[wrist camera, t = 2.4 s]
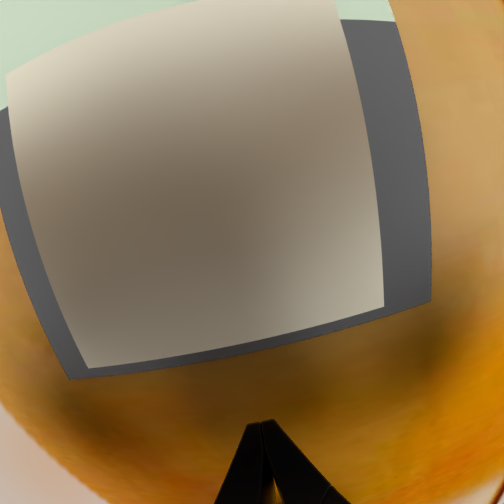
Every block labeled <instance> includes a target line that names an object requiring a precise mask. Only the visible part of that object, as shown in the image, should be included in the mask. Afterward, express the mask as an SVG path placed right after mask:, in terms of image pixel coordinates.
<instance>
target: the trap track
mask: <svg viewBox="0 0 504 504" xmlns="http://www.w3.org/2000/svg"><path fill="white" fill-rule="evenodd" d="M194 1H199V0H0V208H1V212H2V216H3V220H4V223H5V227H6V231H7V234H8V237H9V241H10V244H11V247H12V250H13V253H14V256H15V259H16V262H17V265H18V268H19V271H20V274H21V276H22V279H23V282H24V284H25V287H26V290H27V292H28V295H29V297H30V300H31V302H32V305H33V307H34V309H35V312H36V314H37V316H38V318H39V321H40V323H41V325H42V327H43V329H44V332H45V334H46V336H47V338H48V340H49V342H50V344H51V346H52V348H53V350H54V352H55V354H56V356H57V358H58V360H59V362H60V364H61V365H62V367H63V369H64V371H65V373H66V375H67V376H68V378H69V380H70V379H82V378H92V377H102V376H112V375H120V374H128V373H136V372H144V371H151V370H158V369H164V368H171V367H177V366H183V365H189V364H195V363H200V362H206V361H211V360H216V359H222V358H227V357H232V356H236V355H241V354H246V353H251V352H255V351H260V350H264V349H269V348H273V347H277V346H281V345H286V344H290V343H294V342H298V341H302V340H306V339H310V338H313V337H317V336H321V335H325V334H328V333H332V332H336V331H339V330H343V329H346V328H350V327H353V326H356V325H360V324H363V323H366V322H370V321H373V320H376V319H379V318H382V317H386V316H389V315H392V314H395V313H398V312H401V311H404V310H407V309H410V308H413V307H416V306H419V305H421V304H424V303H427V302H430V301H431V268H432V253H431V219H430V203H429V190H428V179H427V169H426V161H425V153H424V146H423V139H422V132H421V126H420V120H419V115H418V109H417V104H416V99H415V94H414V89H413V85H412V80H411V76H410V72H409V68H408V64H407V60H406V56H405V53H404V49H403V45H402V42H401V38H400V35H399V32H398V28H397V25H396V22H395V19H394V16H393V13H392V10H391V7H390V4H389V2H388V0H334V2H335V5H336V9H337V12H338V15H339V18H340V21H341V25H342V28H343V32H344V35H345V39H346V42H347V46H348V49H349V53H350V57H351V61H352V65H353V69H354V73H355V77H356V82H357V86H358V90H359V95H360V100H361V104H362V109H363V114H364V119H365V125H366V130H367V136H368V142H369V148H370V154H371V160H372V167H373V174H374V181H375V189H376V197H377V206H378V216H379V226H380V237H381V251H382V267H383V289H384V307H381V308H378V309H375V310H371V311H368V312H365V313H361V314H358V315H354V316H351V317H347V318H344V319H340V320H337V321H333V322H329V323H325V324H322V325H318V326H314V327H310V328H306V329H302V330H298V331H294V332H290V333H286V334H282V335H278V336H274V337H269V338H265V339H261V340H256V341H252V342H247V343H242V344H238V345H233V346H228V347H223V348H218V349H213V350H208V351H202V352H197V353H191V354H186V355H180V356H174V357H168V358H162V359H156V360H149V361H143V362H136V363H129V364H121V365H113V366H105V367H97V368H88V367H87V365H86V363H85V361H84V359H83V357H82V355H81V353H80V351H79V349H78V347H77V345H76V343H75V341H74V339H73V337H72V334H71V332H70V330H69V328H68V326H67V323H66V321H65V319H64V317H63V314H62V312H61V309H60V307H59V305H58V302H57V300H56V297H55V295H54V292H53V290H52V287H51V284H50V282H49V279H48V276H47V274H46V271H45V268H44V265H43V262H42V259H41V256H40V253H39V250H38V247H37V244H36V241H35V237H34V234H33V231H32V227H31V224H30V220H29V216H28V213H27V209H26V205H25V201H24V197H23V193H22V188H21V184H20V179H19V175H18V170H17V165H16V159H15V154H14V148H13V142H12V135H11V128H10V120H9V111H8V101H7V88H6V74H8V73H9V72H11V71H13V70H15V69H16V68H18V67H20V66H22V65H23V64H25V63H27V62H29V61H31V60H32V59H34V58H36V57H38V56H40V55H42V54H44V53H46V52H48V51H50V50H52V49H54V48H56V47H58V46H61V45H63V44H65V43H67V42H69V41H72V40H74V39H76V38H78V37H81V36H83V35H86V34H88V33H91V32H93V31H96V30H98V29H101V28H103V27H106V26H109V25H112V24H114V23H117V22H120V21H123V20H126V19H129V18H132V17H136V16H139V15H142V14H146V13H149V12H153V11H156V10H160V9H164V8H168V7H172V6H176V5H180V4H184V3H189V2H194Z"/></svg>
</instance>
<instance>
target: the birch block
mask: <svg viewBox="0 0 504 504" xmlns="http://www.w3.org/2000/svg"><path fill="white" fill-rule="evenodd" d="M6 88H7V101H8V111H9V120H10V128H11V135H12V142H13V148H14V154H15V159H16V165H17V170H18V175H19V179H20V184H21V188H22V193H23V197H24V201H25V205H26V209H27V213H28V216H29V220H30V224H31V227H32V231H33V234H34V237H35V241H36V244H37V247H38V250H39V253H40V256H41V259H42V262H43V265H44V268H45V271H46V274H47V276H48V279H49V282H50V284H51V287H52V290H53V292H54V295H55V297H56V300H57V302H58V305H59V307H60V309H61V312H62V314H63V317H64V319H65V321H66V323H67V326H68V328H69V330H70V332H71V334H72V337H73V339H74V341H75V343H76V345H77V347H78V349H79V351H80V353H81V355H82V357H83V359H84V361H85V363H86V365H87V367H88V368H97V367H105V366H113V365H121V364H129V363H136V362H143V361H149V360H156V359H162V358H168V357H174V356H180V355H186V354H191V353H197V352H202V351H208V350H213V349H218V348H223V347H228V346H233V345H238V344H242V343H247V342H252V341H256V340H261V339H265V338H269V337H274V336H278V335H282V334H286V333H290V332H294V331H298V330H302V329H306V328H310V327H314V326H318V325H322V324H325V323H329V322H333V321H337V320H340V319H344V318H347V317H351V316H354V315H358V314H361V313H365V312H368V311H371V310H375V309H378V308H381V307H384V289H383V267H382V251H381V237H380V226H379V216H378V206H377V197H376V189H375V181H374V174H373V167H372V160H371V154H370V148H369V142H368V136H367V130H366V125H365V119H364V114H363V109H362V104H361V100H360V95H359V90H358V86H357V82H356V77H355V73H354V69H353V65H352V61H351V57H350V53H349V49H348V46H347V42H346V39H345V35H344V32H343V28H342V25H341V21H340V18H339V15H338V12H337V9H336V5H335V2H334V0H199V1H194V2H189V3H184V4H180V5H176V6H172V7H168V8H164V9H160V10H156V11H153V12H149V13H146V14H142V15H139V16H136V17H132V18H129V19H126V20H123V21H120V22H117V23H114V24H112V25H109V26H106V27H103V28H101V29H98V30H96V31H93V32H91V33H88V34H86V35H83V36H81V37H78V38H76V39H74V40H72V41H69V42H67V43H65V44H63V45H61V46H58V47H56V48H54V49H52V50H50V51H48V52H46V53H44V54H42V55H40V56H38V57H36V58H34V59H32V60H31V61H29V62H27V63H25V64H23V65H22V66H20V67H18V68H16V69H15V70H13V71H11V72H9V73H8V74H6Z"/></svg>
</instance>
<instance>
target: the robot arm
mask: <svg viewBox="0 0 504 504" xmlns="http://www.w3.org/2000/svg"><path fill="white" fill-rule="evenodd" d="M274 480H275V483H276V486H277V489H278V491H279V494H280V497H281V499H282V502H283V504H351V503H349V502H348V501H347V500H346V499H345V498H344V497H343V496H342V495H341V494H340V493H339V492H338V491H337V490H336V489H335V488H334V487H333V486H331V484H330V483H329V482H328V480H327V479H326V478H325V477H324V476H323V475H322V474H321V473H320V472H319V471H318V470H317V468H316V467H315V466H314V465H313V464H312V463H311V462H310V461H309V460H308V458H307V457H306V456H305V455H304V454H303V453H302V452H301V450H300V449H299V448H298V447H297V446H296V445H295V444H294V442H293V441H292V440H291V439H290V438H289V436H288V435H287V434H286V433H285V432H284V431H283V429H282V428H281V427H280V426H279V425H278V423H277V422H276V421H275V420H274V419H270V420H265V421H262V422H261V423H260V422H255V423H250V424H248V425H247V426H246V428H245V431H244V433H243V436H242V438H241V441H240V443H239V446H238V448H237V450H236V453H235V455H234V458H233V460H232V463H231V465H230V467H229V470H228V472H227V475H226V477H225V479H224V482H223V484H222V486H221V489H220V491H219V493H218V496H217V498H216V500H215V502H214V504H276V495H275V483H274Z"/></svg>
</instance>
